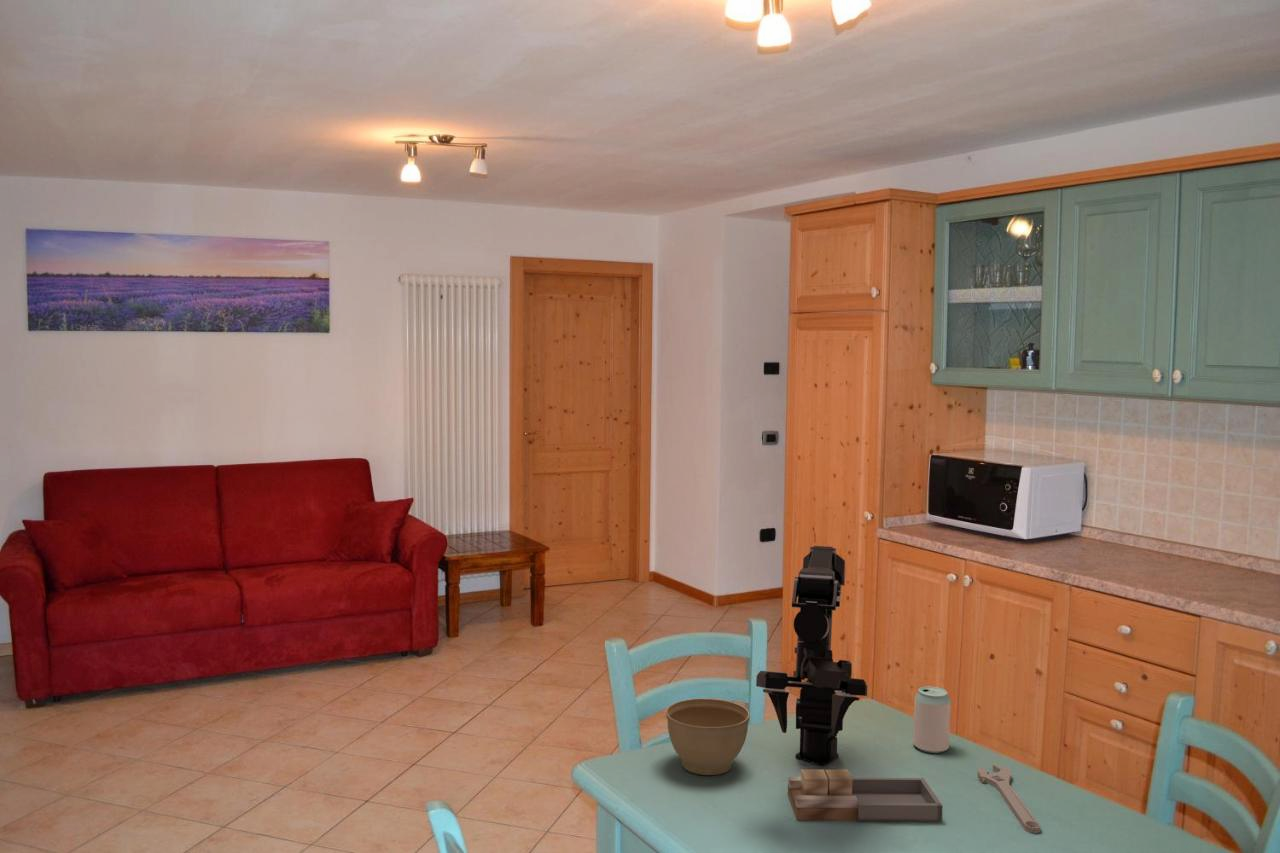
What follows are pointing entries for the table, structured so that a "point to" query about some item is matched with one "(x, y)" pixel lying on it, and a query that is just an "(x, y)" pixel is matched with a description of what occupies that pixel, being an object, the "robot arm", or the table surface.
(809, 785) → the brown wooden cube
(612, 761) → the table surface
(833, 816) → the slot board
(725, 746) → the planter bowl
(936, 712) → the can
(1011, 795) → the adjustable wrench
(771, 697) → the robot arm
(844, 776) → the light brown cube
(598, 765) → the table surface
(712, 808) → the table surface
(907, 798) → the tray
